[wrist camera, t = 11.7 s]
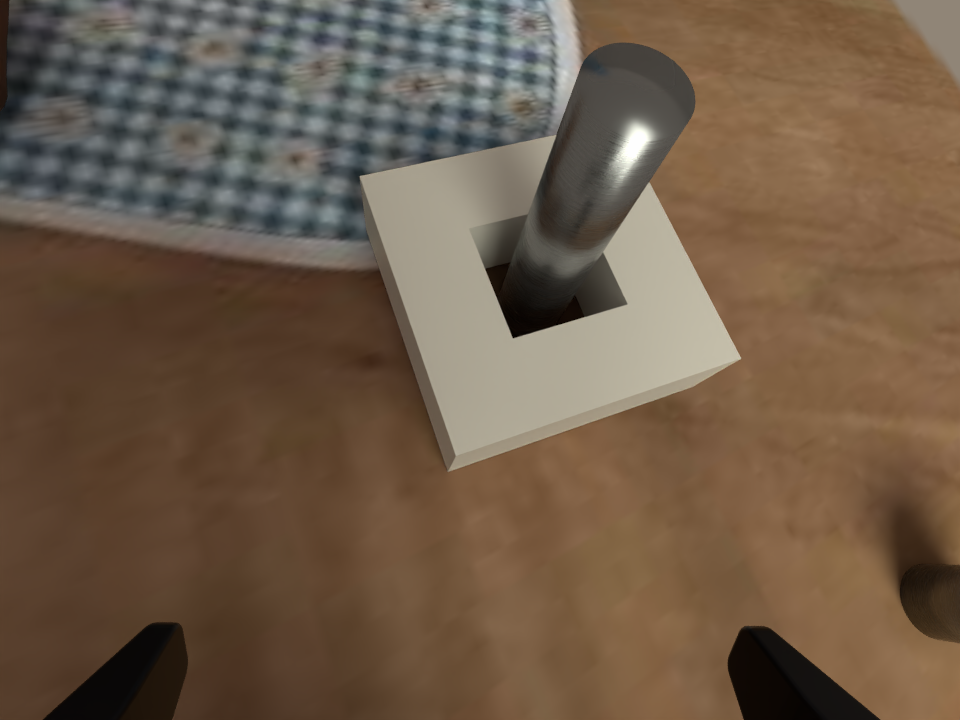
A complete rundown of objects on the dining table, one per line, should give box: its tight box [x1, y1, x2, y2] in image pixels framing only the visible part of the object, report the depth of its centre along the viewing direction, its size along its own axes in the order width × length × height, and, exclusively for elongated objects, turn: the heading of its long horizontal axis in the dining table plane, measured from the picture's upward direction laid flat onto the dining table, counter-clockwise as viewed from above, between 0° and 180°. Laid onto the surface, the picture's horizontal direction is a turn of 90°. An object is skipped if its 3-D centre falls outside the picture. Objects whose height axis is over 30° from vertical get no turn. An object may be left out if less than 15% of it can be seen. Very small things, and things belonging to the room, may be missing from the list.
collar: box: [360, 135, 741, 472], centre depth 24 cm, size 12×12×4 cm
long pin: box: [497, 43, 695, 336], centre depth 20 cm, size 3×3×13 cm
